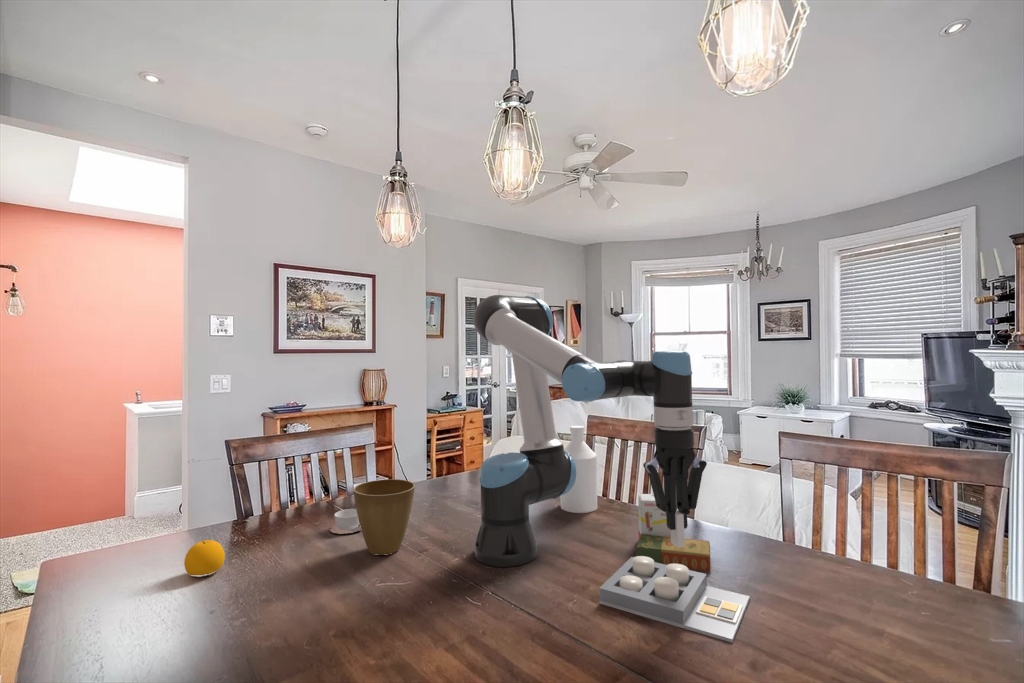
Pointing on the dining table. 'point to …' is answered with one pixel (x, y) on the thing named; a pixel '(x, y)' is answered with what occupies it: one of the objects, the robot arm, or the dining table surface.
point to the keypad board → (679, 603)
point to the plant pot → (384, 513)
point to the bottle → (581, 475)
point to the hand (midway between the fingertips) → (677, 544)
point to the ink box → (651, 517)
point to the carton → (675, 552)
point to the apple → (204, 558)
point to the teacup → (346, 519)
